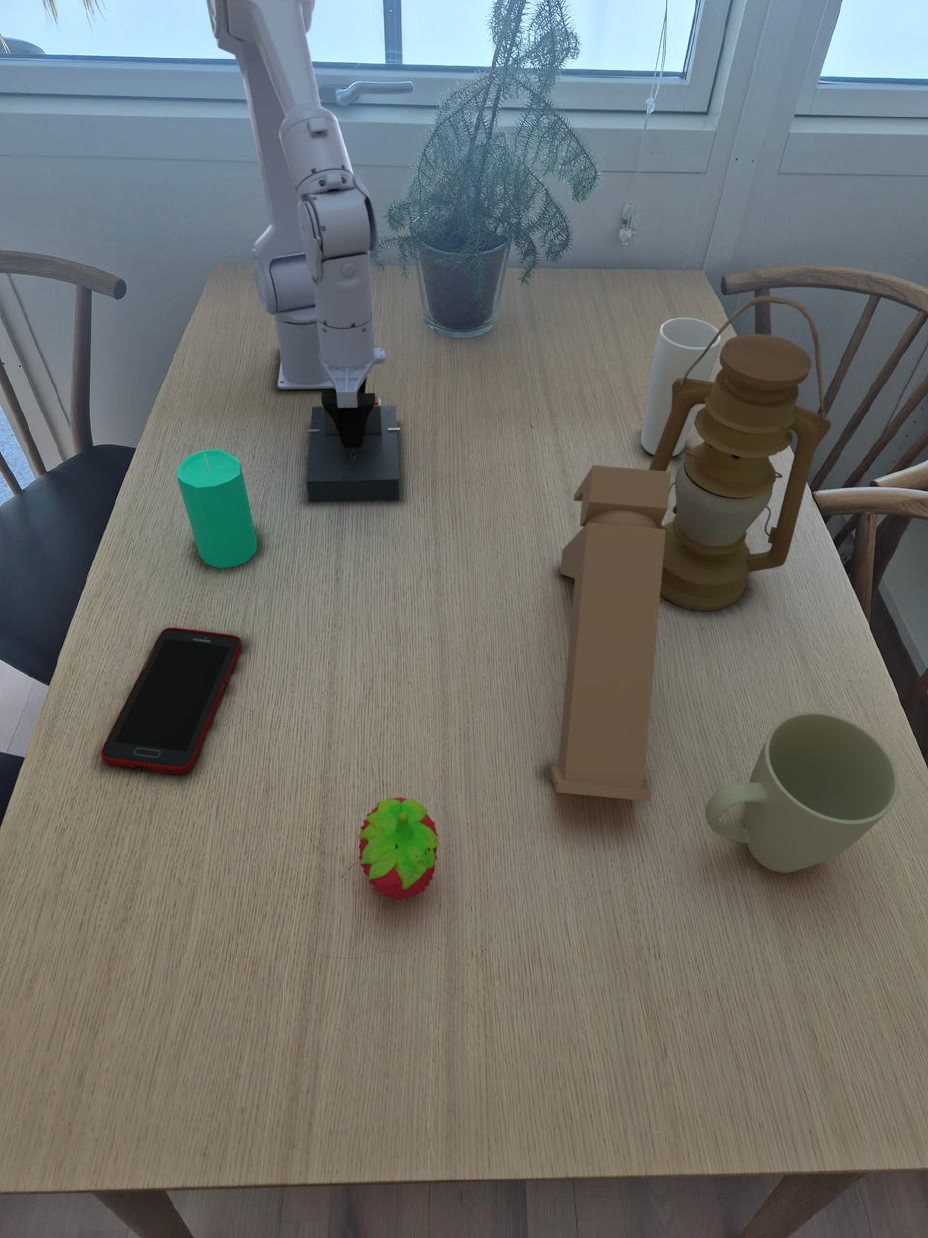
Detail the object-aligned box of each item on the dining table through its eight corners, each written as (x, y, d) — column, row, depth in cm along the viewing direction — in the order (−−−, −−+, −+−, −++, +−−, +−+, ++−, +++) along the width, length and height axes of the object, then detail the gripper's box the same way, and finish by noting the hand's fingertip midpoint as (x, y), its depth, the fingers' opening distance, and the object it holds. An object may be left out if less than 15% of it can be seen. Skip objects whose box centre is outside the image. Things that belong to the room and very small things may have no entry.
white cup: (693, 464, 98) (728, 350, 87) (636, 462, 98) (664, 347, 87) (684, 430, 103) (716, 317, 91) (630, 428, 103) (655, 315, 91)
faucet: (607, 754, 85) (629, 512, 85) (650, 801, 62) (680, 470, 62) (538, 747, 85) (560, 506, 85) (556, 792, 62) (586, 462, 62)
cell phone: (99, 764, 68) (96, 758, 68) (165, 632, 78) (163, 625, 77) (190, 777, 68) (187, 771, 67) (245, 642, 78) (243, 635, 77)
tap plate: (311, 425, 101) (309, 403, 98) (399, 424, 102) (398, 402, 99) (305, 502, 91) (302, 479, 89) (402, 500, 92) (401, 477, 90)
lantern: (764, 549, 89) (878, 278, 66) (773, 621, 82) (904, 345, 59) (623, 531, 90) (689, 259, 67) (621, 600, 83) (693, 322, 61)
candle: (226, 576, 83) (201, 483, 74) (186, 550, 86) (158, 457, 77) (269, 545, 87) (251, 451, 78) (230, 520, 89) (208, 427, 80)
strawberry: (437, 831, 66) (439, 764, 58) (438, 923, 61) (439, 863, 53) (364, 831, 65) (356, 764, 58) (359, 924, 60) (349, 864, 53)
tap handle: (325, 434, 95) (321, 404, 92) (325, 426, 96) (322, 396, 93) (381, 433, 95) (380, 403, 92) (381, 425, 96) (380, 395, 93)
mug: (740, 768, 70) (786, 683, 61) (852, 838, 66) (918, 758, 57) (676, 861, 65) (716, 782, 56) (795, 943, 61) (858, 872, 52)
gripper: (384, 351, 80) (389, 464, 90) (382, 280, 90) (387, 389, 100) (311, 352, 80) (324, 465, 90) (317, 281, 89) (328, 390, 99)
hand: (353, 425), depth 95 cm, fingers open, 7 cm apart
